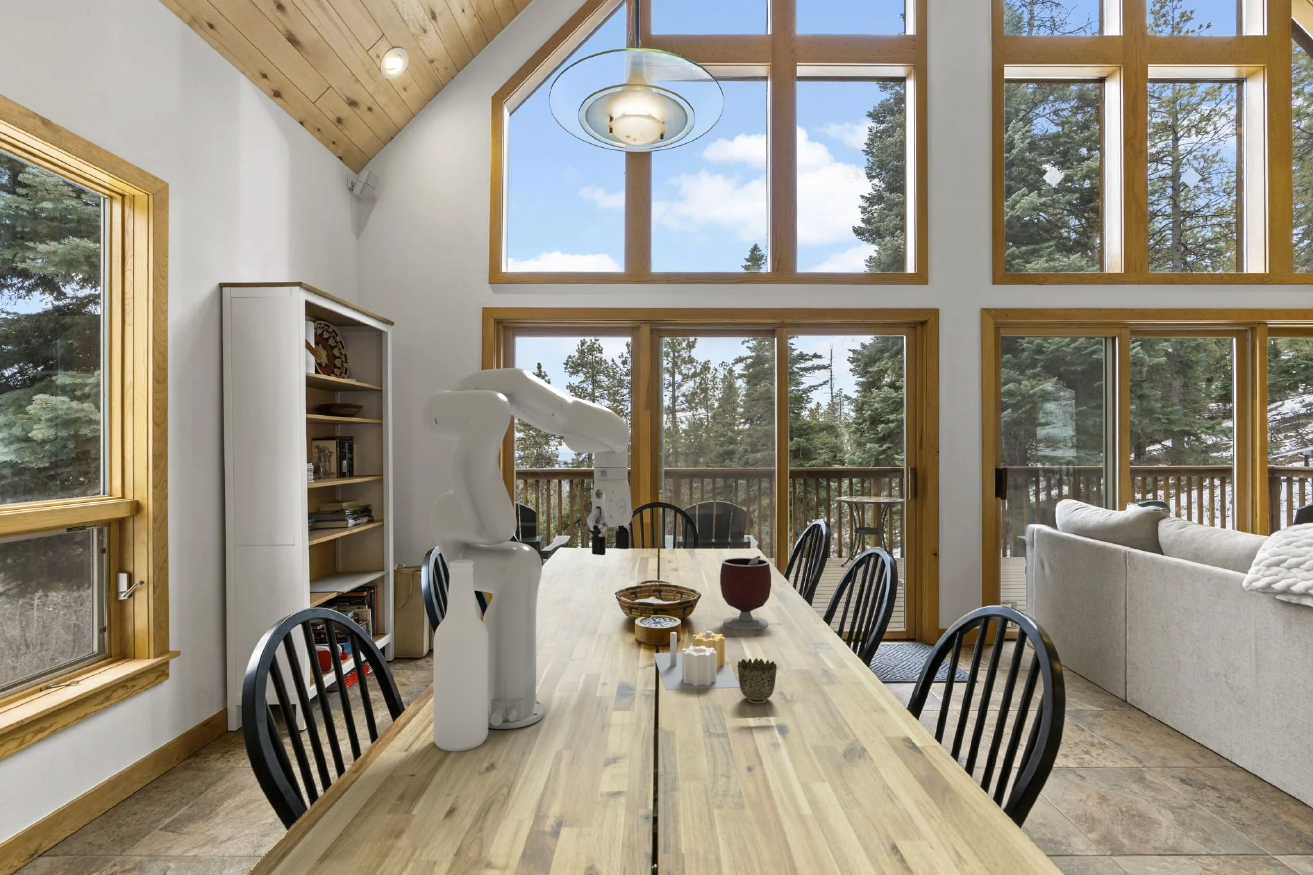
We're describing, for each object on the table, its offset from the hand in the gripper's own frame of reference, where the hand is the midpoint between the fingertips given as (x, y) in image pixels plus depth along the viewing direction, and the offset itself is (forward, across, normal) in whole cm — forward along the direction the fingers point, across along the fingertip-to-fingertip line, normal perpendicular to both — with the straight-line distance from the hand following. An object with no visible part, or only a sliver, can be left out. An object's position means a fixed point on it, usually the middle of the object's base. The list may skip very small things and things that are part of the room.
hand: (610, 551), depth 158 cm
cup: (+26, -7, -38) cm, 46 cm away
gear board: (+25, +3, -19) cm, 32 cm away
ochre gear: (+24, +8, -21) cm, 33 cm away
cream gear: (+24, -3, -23) cm, 34 cm away
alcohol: (+25, -46, 0) cm, 53 cm away
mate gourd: (+26, +47, -14) cm, 55 cm away
